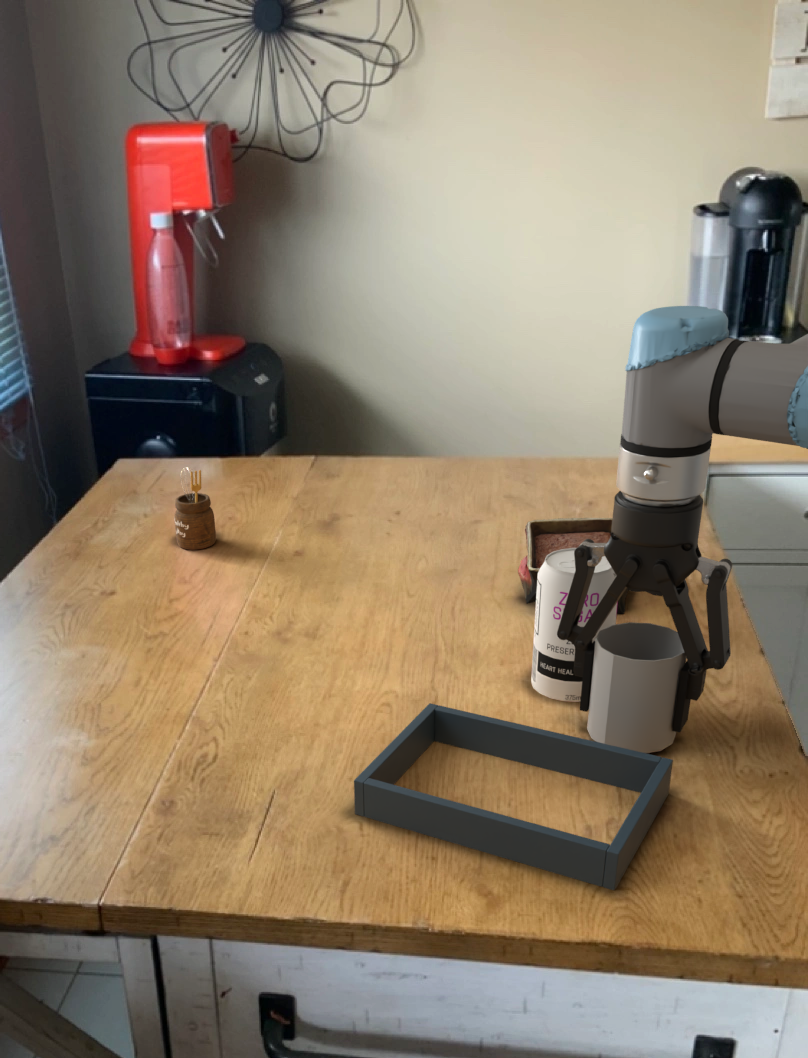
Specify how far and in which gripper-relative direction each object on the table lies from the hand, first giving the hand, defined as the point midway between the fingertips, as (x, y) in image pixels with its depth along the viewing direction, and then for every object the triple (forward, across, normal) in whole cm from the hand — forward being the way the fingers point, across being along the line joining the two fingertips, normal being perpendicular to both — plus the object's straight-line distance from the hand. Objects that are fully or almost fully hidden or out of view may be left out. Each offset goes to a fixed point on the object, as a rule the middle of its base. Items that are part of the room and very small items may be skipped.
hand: (632, 714), depth 111 cm
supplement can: (+3, -9, +8) cm, 12 cm away
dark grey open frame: (+3, -6, -16) cm, 18 cm away
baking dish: (+3, -17, +33) cm, 37 cm away
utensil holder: (+4, -73, +28) cm, 78 cm away
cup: (+2, 0, 0) cm, 2 cm away
